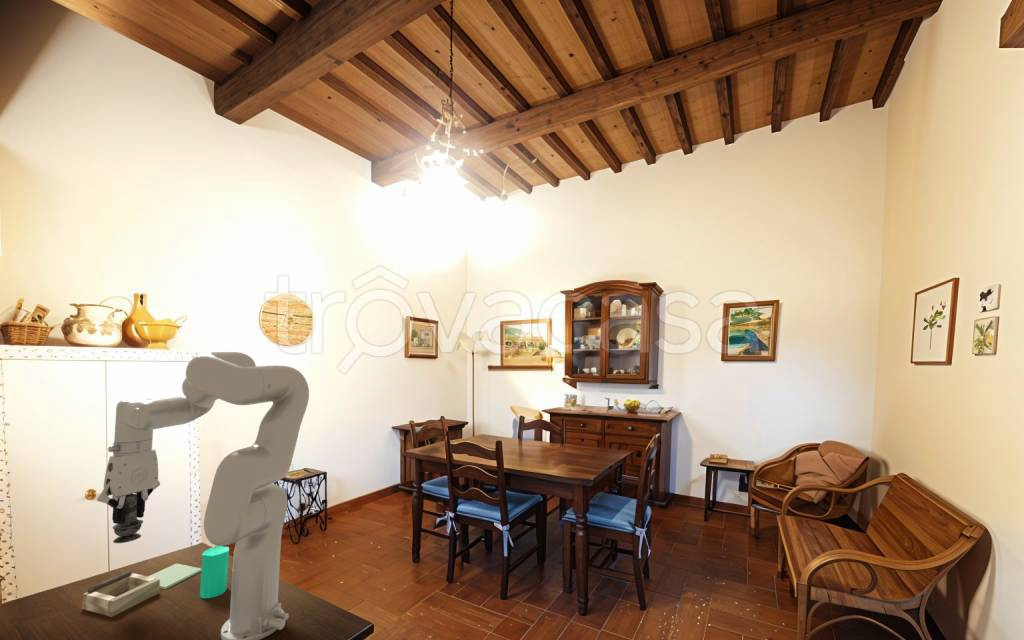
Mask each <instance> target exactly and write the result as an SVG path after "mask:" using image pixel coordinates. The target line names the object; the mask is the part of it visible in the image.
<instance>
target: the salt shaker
mask: <svg viewBox="0 0 1024 640" xmlns="http://www.w3.org/2000/svg"><path fill="white" fill-rule="evenodd" d="M123 507H125V508H126V513H125V523H124V524H116V523H115V524H114V525H113V526H112V529H113V532H114V534H115V535H116V536H117V537H116V538H114V539H113V544H114V543H115V544H125V543H130V542H132V541H136V540H138V539H140V538H141V536H142V535H141V534H140V533H137V532H138V531H140V529H141V527H142V525H143V523H144V520H142V519H138V517H137V509H138V508H139V507H138V506H137V495H136V494H135V493H133V494H130V495H126V496H125V501H124V505H123Z"/></svg>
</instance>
